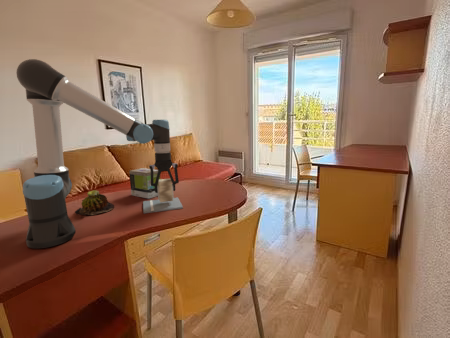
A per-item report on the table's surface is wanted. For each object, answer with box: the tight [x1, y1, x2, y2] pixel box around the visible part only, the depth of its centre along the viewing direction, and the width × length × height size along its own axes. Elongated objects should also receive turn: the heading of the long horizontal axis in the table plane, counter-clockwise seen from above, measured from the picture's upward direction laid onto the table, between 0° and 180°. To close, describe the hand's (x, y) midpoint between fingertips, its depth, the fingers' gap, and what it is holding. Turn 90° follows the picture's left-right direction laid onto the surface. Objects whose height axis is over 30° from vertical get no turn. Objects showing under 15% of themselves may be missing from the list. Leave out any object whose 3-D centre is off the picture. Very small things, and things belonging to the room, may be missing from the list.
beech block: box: [158, 178, 173, 202], centre depth 120 cm, size 6×6×10 cm
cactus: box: [74, 189, 115, 216], centre depth 116 cm, size 17×16×10 cm
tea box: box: [128, 167, 161, 200], centre depth 138 cm, size 15×10×15 cm, turn 58°
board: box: [142, 197, 184, 214], centre depth 121 cm, size 18×16×1 cm
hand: (165, 197), depth 121 cm, fingers closed on beech block, 6 cm apart
